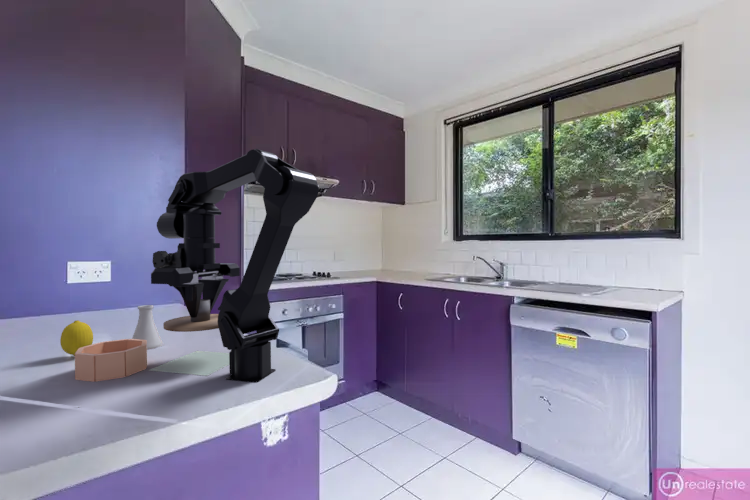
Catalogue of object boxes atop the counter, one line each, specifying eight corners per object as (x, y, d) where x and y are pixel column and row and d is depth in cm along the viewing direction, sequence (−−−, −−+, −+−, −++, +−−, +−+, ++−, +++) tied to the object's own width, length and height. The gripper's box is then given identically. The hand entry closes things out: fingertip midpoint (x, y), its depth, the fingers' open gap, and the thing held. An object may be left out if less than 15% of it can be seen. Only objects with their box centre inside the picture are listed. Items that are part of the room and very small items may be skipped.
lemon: (75, 361, 77) (74, 323, 77) (53, 360, 78) (53, 322, 78) (100, 354, 82) (99, 318, 82) (79, 352, 83) (78, 317, 83)
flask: (170, 347, 88) (169, 305, 87) (137, 354, 81) (136, 309, 81) (154, 342, 91) (153, 302, 91) (121, 350, 85) (121, 307, 85)
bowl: (160, 365, 74) (159, 340, 74) (109, 385, 63) (108, 356, 63) (117, 361, 76) (116, 337, 76) (61, 380, 66) (61, 352, 66)
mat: (248, 357, 79) (248, 354, 79) (206, 378, 66) (206, 375, 66) (197, 352, 82) (197, 350, 82) (148, 372, 70) (148, 370, 70)
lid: (247, 319, 79) (247, 296, 79) (205, 333, 66) (205, 307, 66) (196, 316, 82) (196, 294, 82) (147, 329, 70) (146, 304, 70)
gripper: (198, 239, 85) (199, 306, 85) (125, 237, 67) (126, 323, 67) (240, 238, 82) (241, 308, 83) (176, 237, 64) (177, 326, 64)
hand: (200, 315), depth 74 cm, fingers closed on lid, 4 cm apart
